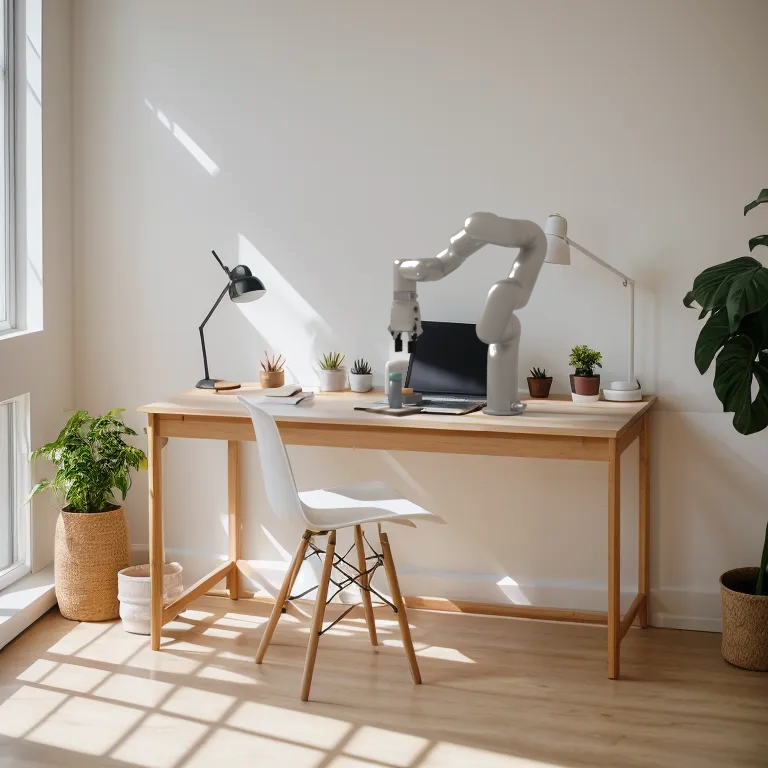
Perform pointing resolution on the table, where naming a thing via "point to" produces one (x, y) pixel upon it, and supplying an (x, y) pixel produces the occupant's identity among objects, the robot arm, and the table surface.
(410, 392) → the button
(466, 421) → the table surface
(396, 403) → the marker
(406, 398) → the button housing
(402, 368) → the photo printer
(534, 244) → the robot arm
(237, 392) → the table surface
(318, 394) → the table surface
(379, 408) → the board
